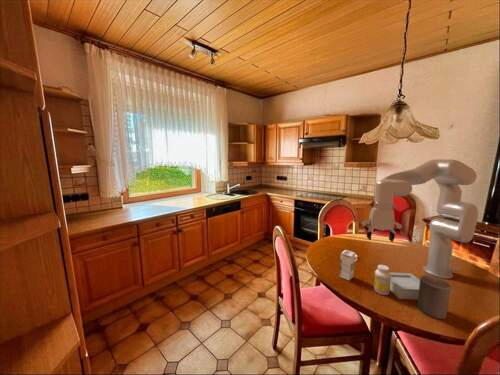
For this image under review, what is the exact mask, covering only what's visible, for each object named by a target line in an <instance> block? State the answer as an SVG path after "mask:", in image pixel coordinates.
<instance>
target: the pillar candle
mask: <svg viewBox="0 0 500 375" xmlns="http://www.w3.org/2000/svg"><path fill="white" fill-rule="evenodd" d="M419 280H420V285H419V294H418V300H417V304H416V306H417V310H419V311H420V312H421V313H422V314H424V315H425V316H428V317H431V318H434V319H438V320H444V319H447V313H448V309H449V301H450V294H451V287H452V286H451V284H450V283H449V282H447V281H445V280H444V278H440V277H436V276H433V275H430V274H428V275H427V274H425V275H421V276H420V279H419Z"/></svg>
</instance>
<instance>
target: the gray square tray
mask: <svg viewBox="0 0 500 375" xmlns="http://www.w3.org/2000/svg"><path fill="white" fill-rule="evenodd" d="M389 273H390V274H391V282H390V292H391V293H393V294H394V295H395V297H397V299H404V300H417V301H418V294H419V285H420V279H419V278H418V277H417V276H415V275H414V274H413V273H409V272H408V273H407V272H390V271H389Z"/></svg>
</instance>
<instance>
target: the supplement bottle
mask: <svg viewBox="0 0 500 375" xmlns="http://www.w3.org/2000/svg"><path fill="white" fill-rule="evenodd" d="M389 272H390V268H389V266H387V265H384V264H378V265H377V269H376V270H375V271H374V282H373V289H374V291H375V292H376V293H378V294H380V295H386V296H388V295H389V294H390V292H391V290H390V282H391V274H390V273H391V272H390V273H389Z"/></svg>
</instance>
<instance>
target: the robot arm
mask: <svg viewBox="0 0 500 375" xmlns="http://www.w3.org/2000/svg"><path fill="white" fill-rule="evenodd" d="M477 177H478V176H477V172H476V171H475V170H474V169H473V167H471V166H469V165H467V164H465V163H464V162H461V161H460V160H457V159H440V158H439V159H432V160H429V161H426V162H424V163H422V164H420V165H419V166H416V167H415V168H412V169H411V168H410V169H407V170H403V171H399V172H396V173H392V174H390V175H387V176H385V177H383V178H382V179H380V180H377V181H376V182H375V188H374V200H373V201H374V202H373V207H371V209H370V213H369V217H368V219H366V220H363V221H361V224H362V226H363V228H364V229H365V230H366V238H367V239H368V240H369V241H370V240H372V230H385V231H389V235H388V240H389V241H390V242H394V240H395V236H396V234H397V233H398V232H399V231H400V230H401V229H402V227H403V225H402V224H400V223H399V222H398V221H396V220H395V211H394V210H395V209H394V208H396V207H397V206H396V205H397V204H395V203H394V196H398V197H406V196H408V195H410V194H411V193H412V190H413V186H417V185H418V186H419V185H422V184H426V183H427V182H430V181H431V180H434V181H435V183H436V184H437V185H438V187H439V196H438V199H437V200H438V201H437V206H436V213H437V214H438V215H439V216H442V217H445V218H441V217H439V218H433V219H431V221H430V222H429V235H430V236H429V237H430V238H429V246H428V255H427V263H426V264H425V265H424V266H423V268H422V270H423V271H424V272H425V273H427V274H428V275H430V276H434V277H437V278H440V279H446V280H449V279H453V277H454V274H453V272H454V273H455V272H456V273H457V272H460V269H459V268H458V267H453V266H452V263H451V262H452V255H453V250H454V247H453V246H454V245H453V241H452V240H454V241H458V242H460V243H469V242H471V241H472V239H473V238H474V234H475V231H476V226H477V224H478V218H479V209H478V207H477V206H476V205H475V204H473V203H471V202H465V201H461V200H462V194H463V193H462V189H461V188H462V187H460V186H470V185H473V183H475V182H476V180H477ZM446 218H449V219H446ZM451 219H452V220H451ZM453 219H454V220H458V221H459V222H458V221H454V220H453ZM367 224H368V226H367ZM395 226H396V227H395Z"/></svg>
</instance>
